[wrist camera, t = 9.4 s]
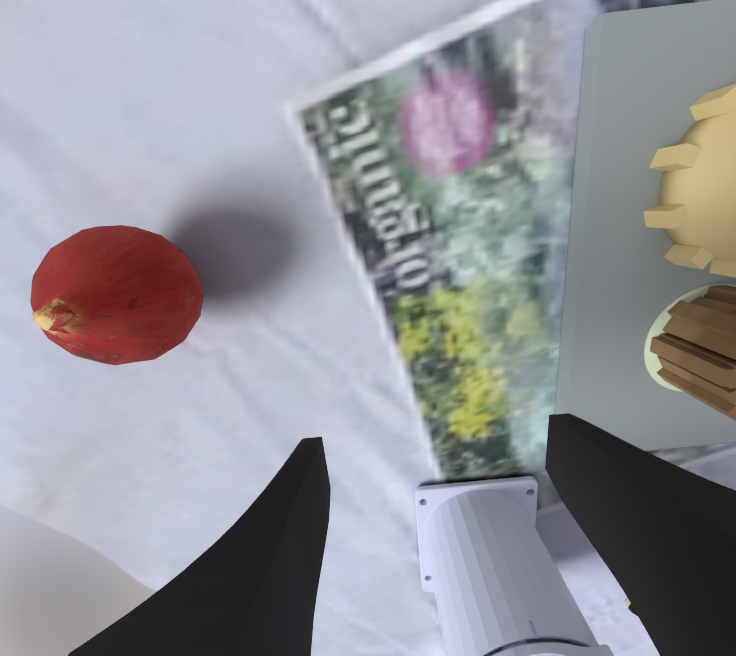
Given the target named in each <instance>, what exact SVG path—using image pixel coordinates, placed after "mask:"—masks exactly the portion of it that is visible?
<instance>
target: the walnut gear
mask: <svg viewBox="0 0 736 656" xmlns="http://www.w3.org/2000/svg"><path fill="white" fill-rule="evenodd" d="M667 312H668V313H669V314H670V315H671V316H672V317H671V318H670V320H669V321H668V322H667V324H666V325H665V326H664V328H663V329H662V330H663V331H665V332H667V333H665V334H660V336H659V337H652V340H651V346H650V352H652V353H654V354H656V355H658V356H657V357H658V359H659V361H660V363H661V365H662V368H661V369H660V370H659V371H658V372H657V374H658V375H659V376H660V377H661V378H662V379H663V380H664V381H666V382H668V383H669V384H671V385H673V386H675V387H676V388H678V389H680V390H682V391H684V392H685V393H687V394H689V395H691V396H692V397H694V398H696V399H698V400H699V401H701V402H703V403H705V404H706V405H708V406H710V407H712V408H714V409H715V410H717V411H719V412H721V413H722V414H724V415H726V416H728V417H729V418H731V419H733V420H735V421H736V287H733V286H728V285H719V286H709V289H708V294H704V297H702V296H699V297H697V298H696V299H694V300H692V301H691V302H689V303H688V302H685V301H681V300H679V301H678V302H677V303H676V304H675V305H674V306H673V307H672V308H671V309H669V310H668V311H667Z"/></svg>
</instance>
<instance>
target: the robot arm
mask: <svg viewBox="0 0 736 656" xmlns="http://www.w3.org/2000/svg"><path fill="white" fill-rule="evenodd" d="M545 469H546V471H547V473H548V475H549V477H550V479H551V481H552V483H553V485H554V487H555V488H556V490H557V492H558V494H559V496H560V498H561V499H562V501H563V502H564V504H565V505H566V507H567V508H568V510H569V511H570V513H571V514H572V516H573V517H574V519H575V520H576V522H577V523H578V525H579V526H580V527H581V529H582V530H583V532H584V533H585V535H586V536H587V538H588V539H589V540H590V542H591V543H592V545H593V546H594V548H595V549H596V550H597V552H598V553H599V555H600V556H601V558H602V559H603V561H604V562H605V563H606V565H607V566H608V568H609V569H610V571H611V572H612V574H613V575H614V577H615V578H616V580H617V581H618V583H619V584H620V586H621V588H622V589H623V591H624V592H625V594H626V596H627V597H628V599H629V601H630V603H631V604H632V606H633V608H634V610H635V611H636V613H637V615H638V617H639V618H640V620H641V622H642V624H643V625H644V627H645V629H646V631H647V632H648V634H649V636H650V638H651V640H652V641H653V643H654V645H655V647H656V649H657V650H658V652H659V654H660V656H736V491H735V490H732V489H730V488H727V487H725V486H722V485H720V484H717V483H715V482H712V481H710V480H707V479H705V478H703V477H700V476H698V475H696V474H693V473H691V472H689V471H687V470H684V469H682V468H680V467H678V466H676V465H673V464H671V463H669V462H667V461H665V460H662V459H660V458H658V457H656V456H654V455H652V454H650V453H648V452H646V451H644V450H642V449H640V448H638V447H636V446H634V445H632V444H630V443H628V442H626V441H624V440H622V439H620V438H618V437H616V436H614V435H612V434H610V433H608V432H607V431H605V430H603V429H601V428H599V427H597V426H595V425H593V424H591V423H589V422H587V421H585V420H583V419H581V418H579V417H577V416H574V415H572V414H570V413H565V414H555V415H549V426H548V439H547V453H546V466H545ZM330 489H331V488H330V482H329V477H328V471H327V465H326V459H325V453H324V447H323V441H322V437H315V438H305V439H302V440H301V441H300V443H299V444H298V445H297V447H296V448H295V450H294V451H293V452H292V454H291V455H290V457H289V458H288V459H287V461H286V462H285V463H284V465H283V466H282V468H281V469H280V470H279V472H278V473H277V474H276V475H275V477H274V478H273V479H272V481H271V482H270V483H269V484H268V486H267V487H266V488H265V489H264V491H263V492H262V493H261V494H260V495H259V497H258V498H257V499H256V500H255V501H254V502H253V504H252V505H251V506H250V507H249V508H248V509H247V511H246V512H245V513H244V514H243V515H242V516H241V517H240V518H239V519H238V520H237V522H236V523H235V524H234V525H233V526H232V527H231V528H230V529H229V530H228V531H227V532H226V533H225V534H224V535H223V536H222V537H221V538H220V539H219V540H217V541H216V542H215V543H214V544H213V545H212V546H211V547H210V548H209V549H208V550H206V551H205V552H204V553H203V554H202V555H201V556H200V557H198V558H197V559H196V560H195V561H194V562H193V563H192V564H190V565H189V566H188V567H187V568H186V569H185V570H184V571H182V572H181V573H180V574H179V575H178V576H176V577H175V578H174V579H173V580H171V581H170V582H169V583H168V584H166V585H165V586H164V587H163V588H161V589H160V590H159V591H157V592H156V593H155V594H153V595H152V596H151V597H150V598H148V599H147V600H146V601H144V602H143V603H142V604H140V605H139V606H138V607H136V608H135V609H133V610H132V611H131V612H129V613H128V614H127V615H125V616H124V617H122V618H121V619H119V620H118V621H116V622H115V623H113V624H112V625H110V626H109V627H108V628H106V629H105V630H104V631H102V632H100V633H99V634H97V635H96V636H94V637H93V638H91V639H90V640H89V641H87V642H86V643H84V644H83V645H81V646H80V647H78V648H77V649H75V650H74V651H72V652H70V653H69V655H68V656H311V644H312V631H313V619H314V611H315V603H316V596H317V590H318V584H319V578H320V572H321V566H322V560H323V554H324V548H325V542H326V536H327V529H328V523H329V510H330ZM529 489H531V490H529ZM528 490H529V491H528ZM537 494H538V482H537V481H536V479H535V478H534V477H532V476H526V477H515V478H504V479H493V480H482V481H472V482H461V483H450V484H439V485H428V486H420V487H418V488H416V490H415V506H416V519H417V533H418V546H419V560H420V573H421V585H422V589H423V591H425V592H435V598H436V603H437V608H438V614H439V619H440V624H441V629H442V635H443V640H444V645H445V651H446V656H614V655H613V654H612V652H611V650H610V648H609V646H608V645H599V644H598V642H597V641H596V639H595V637H594V635H593V633H592V631H591V630H590V628H589V626H588V624H587V622H586V620H585V618H584V617H583V615H582V613H581V611H580V609H579V607H578V606H577V604H576V602H575V600H574V598H573V596H572V595H571V593H570V591H569V589H568V587H567V585H566V583H565V582H564V580H563V578H562V576H561V574H560V572H559V571H558V569H557V567H556V565H555V563H554V561H553V560H552V558H551V556H550V554H549V552H548V550H547V549H546V547H545V545H544V543H543V541H542V539H541V537H540V536H539V534H538V532H537V530H536V528H535V523H536V509H537ZM422 499H425V500H423V501H421V500H422Z"/></svg>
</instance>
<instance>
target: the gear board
mask: <svg viewBox="0 0 736 656" xmlns="http://www.w3.org/2000/svg"><path fill="white" fill-rule="evenodd" d="M719 285H728V286H733V287H736V0H712V1H704V2H695V3H687V4H678V5H669V6H661V7H652V8H644V9H635V10H627V11H618V12H609V13H603V14H602V15H601V16H599V17H598V18H597V19H596V20H595V21H593V22H592V23H591V24H590V25H588V26H587V27H586V29H585V41H584V54H583V66H582V79H581V91H580V103H579V116H578V128H577V141H576V153H575V165H574V178H573V190H572V203H571V215H570V227H569V240H568V252H567V264H566V277H565V289H564V302H563V314H562V326H561V339H560V351H559V364H558V376H557V388H556V401H555V413H554V415H555V414H565V413H570V414H572V415H574V416H577V417H579V418H581V419H583V420H585V421H587V422H589V423H591V424H593V425H595V426H597V427H599V428H601V429H603V430H605V431H607V432H608V433H610V434H612V435H614V436H616V437H618V438H620V439H622V440H624V441H626V442H628V443H630V444H632V445H634V446H636V447H638V448H640V449H642V450H644V451H650V450H660V449H671V448H682V447H692V446H703V445H714V444H724V443H735V442H736V421H735V420H733V419H731V418H729V417H728V416H726V415H724V414H722V413H721V412H719V411H717V410H715V409H714V408H712V407H710V406H708V405H706V404H705V403H703V402H701V401H699V400H698V399H696V398H694V397H692V396H691V395H689V394H687V393H685V392H684V391H682V390H680V389H678V388H676V387H675V386H673V385H671V384H669V383H668V382H666V381H664V380H663V379H662V378H661V377H660V376H659V375H658V374H657V372H658V371H659V370H660V369H661V368H662V365H661V363H660V361H659V359H658V357H657V356H658V355H656V354H654V353H652V352H650V346H651V340H652V337H659V336H660V334H665V333H667V332H665V331H663V330H662V329H663V328H664V326H665V325H666V324H667V322H668V321H669V320H670V318H671V317H672V316H671V315H670V314H669V313H668V312H667V311H668V310H669V309H671V308H672V307H673V306H674V305H675V304H676V303H677V302H678V301H679V300H681V301H685V302H688V303H689V302H691V301H692V300H694V299H696V298H697V297H699V296H702V297H704V294H708V289H709V286H719Z"/></svg>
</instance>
